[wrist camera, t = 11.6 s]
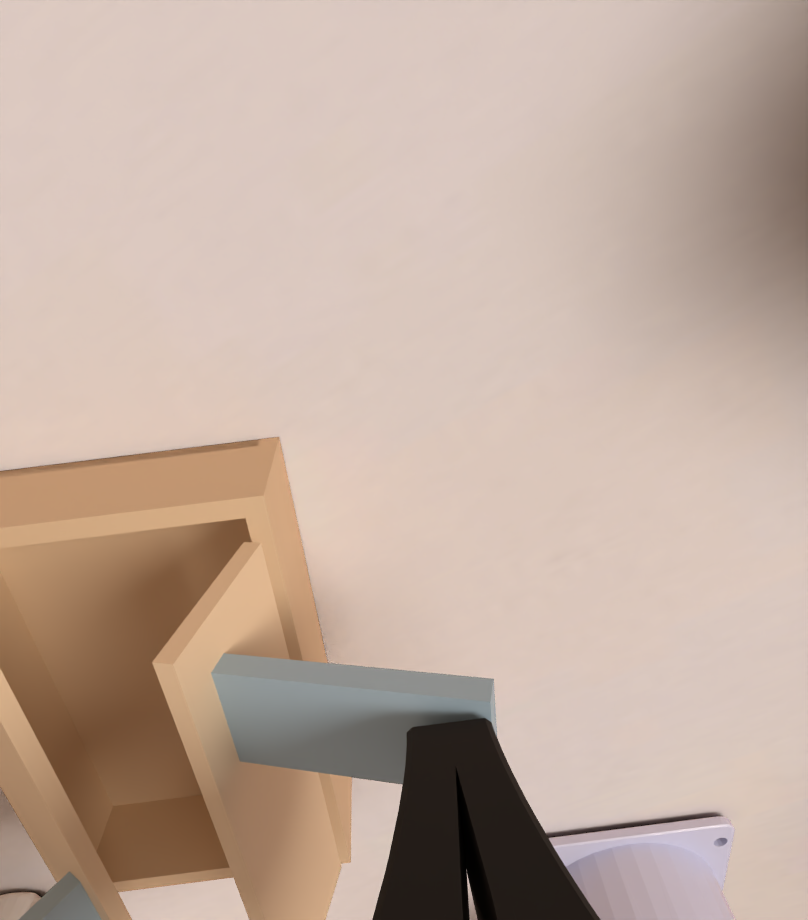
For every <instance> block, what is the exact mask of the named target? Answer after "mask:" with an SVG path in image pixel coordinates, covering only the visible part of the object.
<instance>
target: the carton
mask: <svg viewBox="0 0 808 920" xmlns="http://www.w3.org/2000/svg"><path fill="white" fill-rule="evenodd" d="M243 542H253V543H261V545H262V549H263V553H264V557H265V561H266V565H267V569H268V573H269V577H270V581H271V585H272V589H273V593H274V597H275V601H276V605H277V609H278V614H279V618H280V622H281V626H282V630H283V634H284V638H285V642H286V646H287V650H288V654H289V658H290V660H300V661H310V662H321V663H327V658H326V653H325V649H324V644H323V639H322V635H321V630H320V625H319V621H318V616H317V611H316V607H315V602H314V597H313V593H312V588H311V583H310V579H309V574H308V569H307V565H306V560H305V556H304V551H303V546H302V542H301V537H300V532H299V528H298V523H297V518H296V514H295V509H294V504H293V500H292V495H291V490H290V486H289V481H288V476H287V472H286V467H285V462H284V458H283V453H282V448H281V444H280V439H279V437H275V438H267V439H259V440H251V441H243V442H235V443H227V444H219V445H210V446H202V447H194V448H186V449H178V450H170V451H162V452H153V453H145V454H137V455H129V456H121V457H113V458H105V459H97V460H88V461H80V462H72V463H64V464H56V465H48V466H40V467H32V468H23V469H15V470H7V471H0V669H1V671H2V673H3V675H4V676H5V678H6V680H7V682H8V684H9V686H10V688H11V690H12V692H13V694H14V695H15V697H16V699H17V701H18V703H19V705H20V707H21V709H22V711H23V713H24V715H25V716H26V718H27V720H28V722H29V724H30V726H31V728H32V730H33V732H34V734H35V736H36V737H37V739H38V741H39V743H40V745H41V747H42V749H43V751H44V753H45V755H46V756H47V758H48V760H49V762H50V764H51V766H52V768H53V770H54V772H55V774H56V776H57V777H58V779H59V781H60V783H61V785H62V787H63V789H64V791H65V793H66V795H67V797H68V798H69V800H70V802H71V804H72V806H73V808H74V810H75V812H76V814H77V816H78V818H79V819H80V821H81V823H82V825H83V827H84V829H85V831H86V833H87V835H88V837H89V838H90V840H91V842H92V844H93V846H94V848H95V850H96V852H97V854H98V856H99V858H100V859H101V861H102V863H103V865H104V867H105V869H106V871H107V873H108V875H109V877H110V879H111V880H112V882H113V884H114V886H115V888H116V890H117V892H123V891H130V890H138V889H146V888H154V887H162V886H170V885H177V884H185V883H193V882H201V881H209V880H217V879H224V878H232V877H233V875H232V872H231V869H230V867H229V864H228V861H227V859H226V856H225V853H224V851H223V848H222V846H221V843H220V840H219V838H218V835H217V832H216V830H215V827H214V824H213V822H212V819H211V817H210V814H209V811H208V809H207V806H206V803H205V801H204V798H203V795H202V793H201V790H200V788H199V785H198V782H197V780H196V777H195V774H194V772H193V769H192V766H191V764H190V761H189V759H188V756H187V753H186V751H185V748H184V745H183V743H182V740H181V737H180V735H179V732H178V730H177V727H176V724H175V722H174V719H173V716H172V714H171V711H170V708H169V706H168V703H167V701H166V698H165V695H164V693H163V690H162V687H161V685H160V682H159V679H158V677H157V674H156V671H155V669H154V666H153V664H152V662H153V660H154V659H155V658H156V656H157V655H158V654H159V653H160V651H161V650H162V649H163V647H164V646H165V645H166V643H167V642H168V641H169V639H170V638H171V637H172V636H173V634H174V633H175V632H176V630H177V629H178V628H179V626H180V625H181V624H182V622H183V621H184V620H185V618H186V617H187V616H188V615H189V613H190V612H191V611H192V609H193V608H194V607H195V605H196V604H197V603H198V601H199V600H200V599H201V597H202V596H203V595H204V594H205V592H206V591H207V590H208V588H209V587H210V586H211V584H212V583H213V582H214V580H215V579H216V578H217V576H218V575H219V574H220V573H221V571H222V570H223V569H224V567H225V566H226V565H227V563H228V562H229V561H230V559H231V558H232V557H233V556H234V554H235V553H236V552H237V550H238V549H239V548H240V546H241V545H242V544H243ZM318 774H319V778H320V782H321V786H322V790H323V794H324V798H325V802H326V806H327V810H328V814H329V818H330V822H331V826H332V830H333V834H334V838H335V842H336V846H337V851H338V855H339V859H340V863H341V864H342V863H350V862H351V791H352V777H347V776H340V775H332V774H325V773H318Z"/></svg>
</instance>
